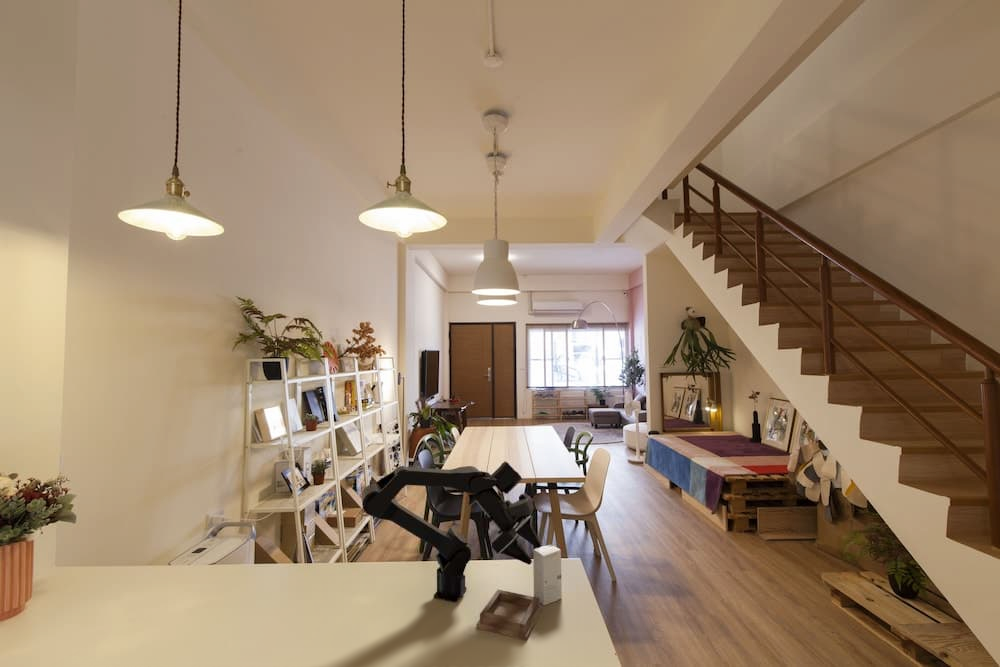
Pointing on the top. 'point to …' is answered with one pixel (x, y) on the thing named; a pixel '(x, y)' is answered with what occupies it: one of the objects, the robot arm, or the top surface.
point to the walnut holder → (510, 614)
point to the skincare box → (547, 574)
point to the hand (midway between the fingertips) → (535, 554)
